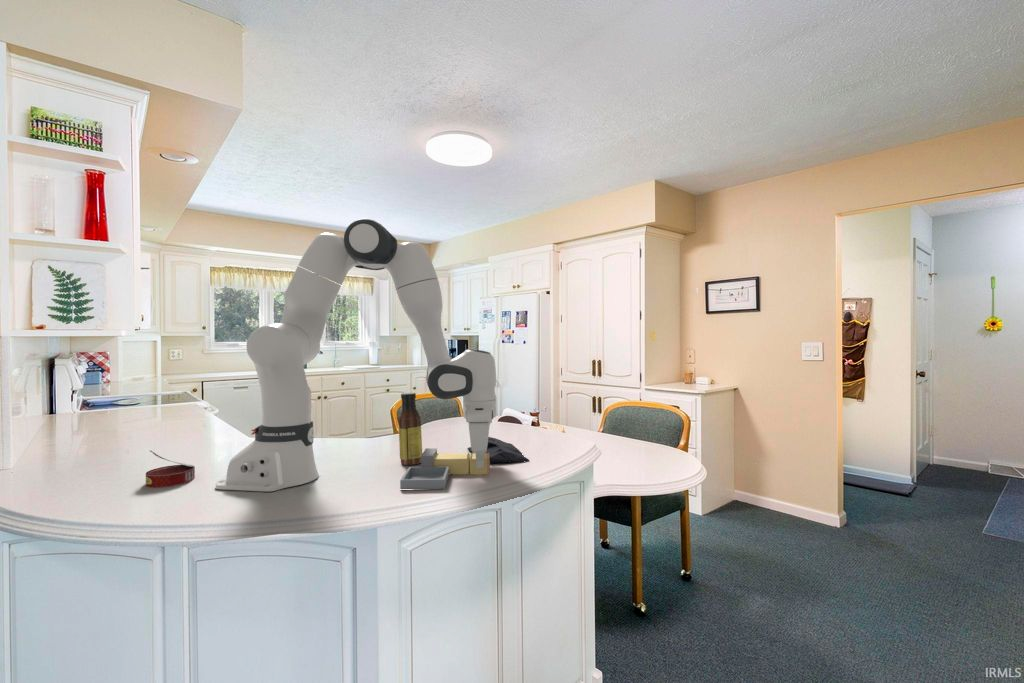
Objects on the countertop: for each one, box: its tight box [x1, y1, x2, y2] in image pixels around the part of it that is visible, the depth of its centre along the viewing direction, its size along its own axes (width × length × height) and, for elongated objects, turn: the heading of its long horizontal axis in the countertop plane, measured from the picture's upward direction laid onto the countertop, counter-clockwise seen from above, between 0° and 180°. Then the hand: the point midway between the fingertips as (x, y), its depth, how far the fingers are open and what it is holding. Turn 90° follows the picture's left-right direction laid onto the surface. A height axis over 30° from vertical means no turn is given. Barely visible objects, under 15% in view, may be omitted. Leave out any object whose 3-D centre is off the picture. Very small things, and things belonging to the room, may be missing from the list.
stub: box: [469, 452, 491, 475], centre depth 121 cm, size 5×6×4 cm
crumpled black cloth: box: [467, 436, 530, 464], centre depth 138 cm, size 15×22×5 cm
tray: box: [399, 466, 450, 490], centre depth 111 cm, size 10×11×2 cm
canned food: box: [145, 450, 196, 489], centre depth 114 cm, size 11×10×10 cm
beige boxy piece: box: [420, 447, 471, 475], centre depth 121 cm, size 12×8×5 cm, turn 92°
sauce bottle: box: [398, 392, 423, 466], centre depth 129 cm, size 7×6×20 cm
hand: (480, 462), depth 121 cm, fingers open, 8 cm apart
